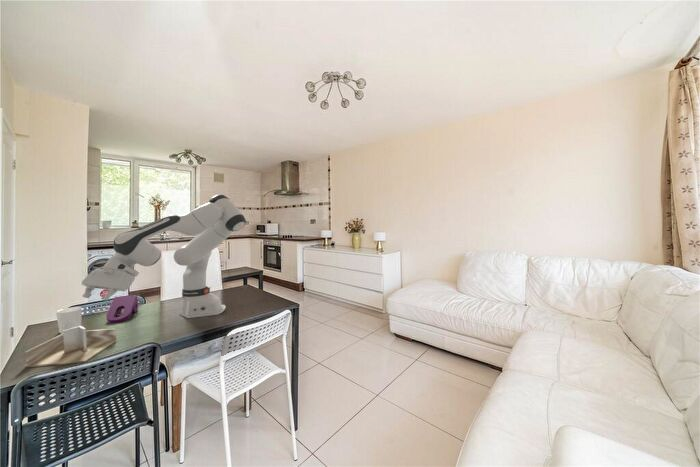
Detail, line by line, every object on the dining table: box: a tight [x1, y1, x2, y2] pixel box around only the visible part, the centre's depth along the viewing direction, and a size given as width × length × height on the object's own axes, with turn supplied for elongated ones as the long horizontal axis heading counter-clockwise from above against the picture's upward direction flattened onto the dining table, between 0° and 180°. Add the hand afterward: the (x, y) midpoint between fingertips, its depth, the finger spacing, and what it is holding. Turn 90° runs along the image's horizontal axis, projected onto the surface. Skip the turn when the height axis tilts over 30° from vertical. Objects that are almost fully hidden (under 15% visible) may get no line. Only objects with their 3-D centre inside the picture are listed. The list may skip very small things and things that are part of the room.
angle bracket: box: [63, 325, 87, 353], centre depth 97 cm, size 5×5×9 cm
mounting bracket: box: [105, 294, 139, 324], centre depth 134 cm, size 10×8×18 cm
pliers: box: [91, 305, 111, 314], centre depth 145 cm, size 10×2×15 cm
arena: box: [23, 328, 117, 368], centre depth 98 cm, size 18×16×6 cm
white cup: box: [55, 306, 83, 334], centre depth 117 cm, size 8×8×10 cm
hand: (94, 298), depth 101 cm, fingers open, 8 cm apart
